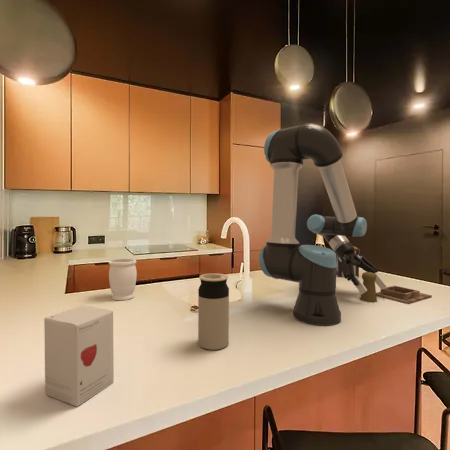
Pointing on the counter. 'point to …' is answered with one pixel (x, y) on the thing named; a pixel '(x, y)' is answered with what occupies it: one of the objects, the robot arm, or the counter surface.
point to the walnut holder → (402, 294)
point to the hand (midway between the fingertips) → (374, 290)
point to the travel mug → (213, 311)
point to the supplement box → (78, 353)
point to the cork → (369, 287)
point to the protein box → (339, 270)
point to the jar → (122, 278)
